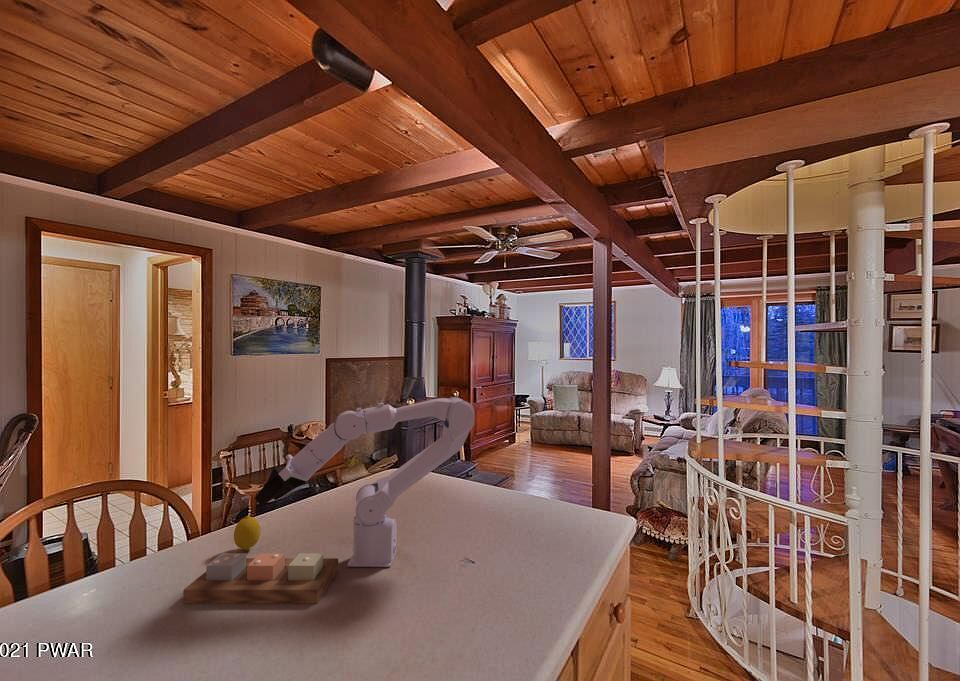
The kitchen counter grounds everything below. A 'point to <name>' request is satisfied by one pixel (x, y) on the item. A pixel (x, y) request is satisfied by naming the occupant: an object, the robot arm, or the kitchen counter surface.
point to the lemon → (247, 533)
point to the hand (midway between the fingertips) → (265, 499)
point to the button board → (261, 587)
